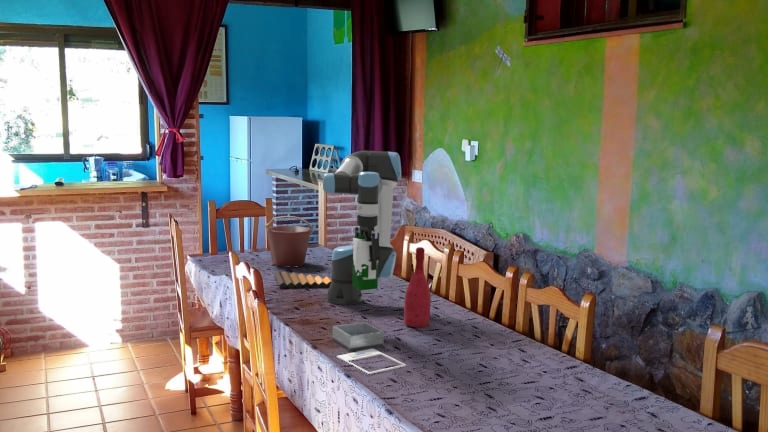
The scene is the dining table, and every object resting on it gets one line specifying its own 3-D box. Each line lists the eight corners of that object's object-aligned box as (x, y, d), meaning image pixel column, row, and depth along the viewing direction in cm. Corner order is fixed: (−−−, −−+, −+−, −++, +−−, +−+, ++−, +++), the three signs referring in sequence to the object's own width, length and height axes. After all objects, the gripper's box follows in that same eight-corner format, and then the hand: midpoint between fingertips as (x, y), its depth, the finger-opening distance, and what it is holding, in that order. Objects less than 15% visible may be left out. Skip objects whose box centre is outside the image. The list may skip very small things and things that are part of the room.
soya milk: (370, 283, 265) (372, 231, 262) (381, 289, 257) (383, 235, 254) (349, 285, 261) (350, 232, 258) (359, 291, 253) (361, 236, 250)
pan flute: (273, 277, 339) (279, 289, 315) (273, 270, 338) (279, 282, 314) (324, 276, 345) (334, 288, 321) (325, 269, 344) (334, 281, 320)
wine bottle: (433, 323, 270) (437, 247, 266) (423, 330, 262) (427, 251, 257) (409, 319, 274) (413, 244, 270) (399, 326, 266) (403, 247, 261)
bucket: (259, 266, 358) (260, 217, 355) (273, 258, 380) (274, 212, 376) (305, 269, 354) (307, 220, 351) (317, 261, 376) (318, 215, 372)
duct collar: (364, 335, 252) (365, 321, 252) (383, 346, 241) (384, 332, 241) (332, 340, 246) (332, 326, 245) (349, 351, 235) (350, 336, 234)
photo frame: (373, 347, 237) (406, 364, 223) (373, 351, 237) (406, 367, 223) (336, 355, 228) (368, 372, 214) (336, 358, 229) (368, 376, 214)
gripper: (344, 210, 262) (342, 269, 265) (373, 220, 244) (371, 283, 247) (362, 210, 266) (360, 268, 269) (392, 219, 247) (389, 281, 251)
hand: (365, 275), depth 258 cm, fingers closed on soya milk, 9 cm apart
